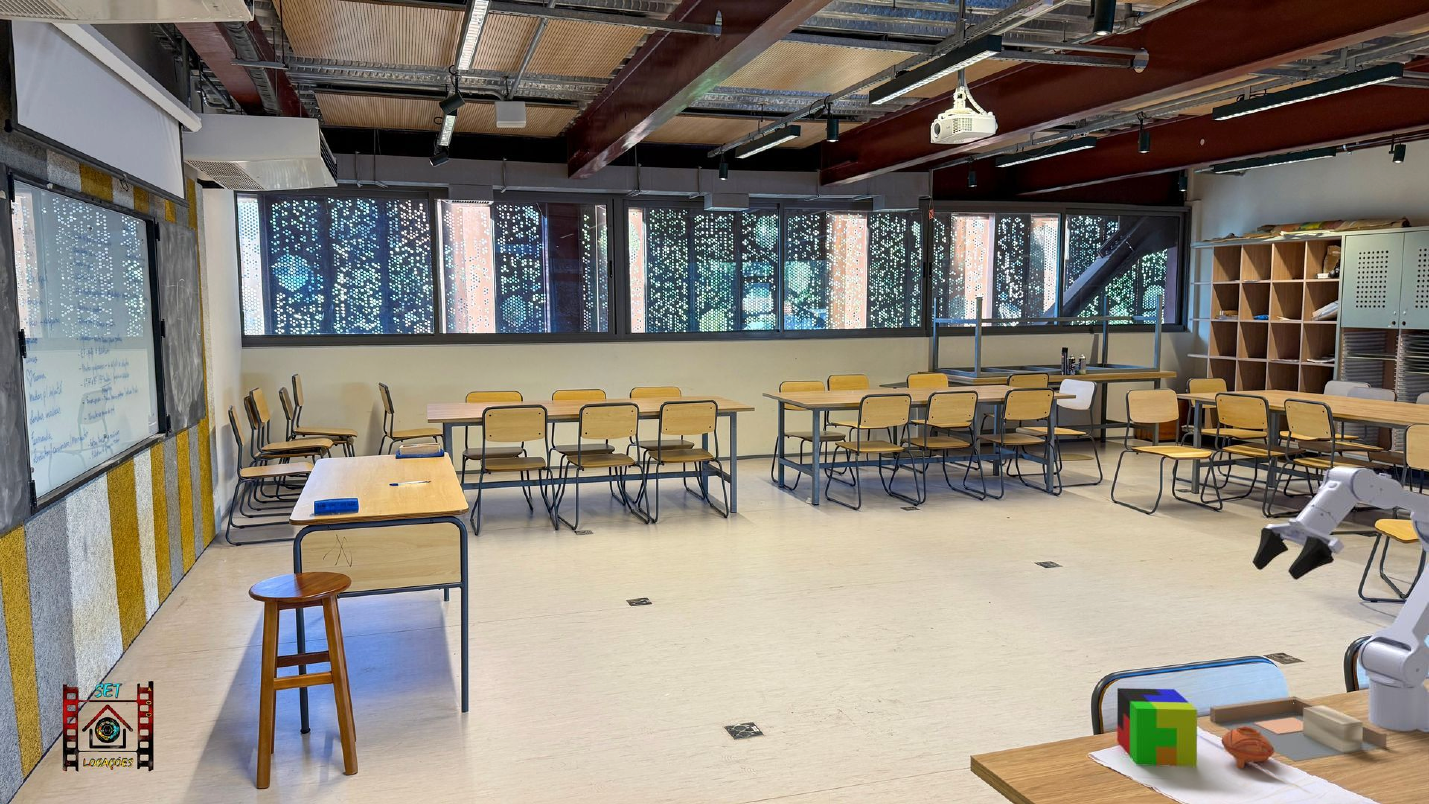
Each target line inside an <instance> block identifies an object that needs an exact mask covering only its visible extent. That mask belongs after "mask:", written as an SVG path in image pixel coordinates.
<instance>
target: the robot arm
mask: <svg viewBox="0 0 1429 804" xmlns="http://www.w3.org/2000/svg"><path fill="white" fill-rule="evenodd" d="M1322 480H1323V481H1322V484H1321V485H1320V486H1319V487H1318V491H1317V493H1316V495H1315V496H1314V497H1313V498H1312V499H1311V500H1310V501H1309V503H1308V504H1307V505H1306V506H1305V507H1304V508H1303V509H1302V511H1301V512H1300V513H1299V514H1298V515H1297V516H1296V518H1289V519H1288V521H1287V522H1286V523H1278V524H1277V523H1276V524H1272V523H1269V524H1267V526H1265V527H1262V529H1260V540H1259V545H1258V548H1257V551H1256V553H1255V556H1254V557H1253V559H1252V564H1253V565H1254V566H1255V568H1256V569H1257V570H1260V571H1261V570H1263V569H1265V567H1266V566H1268V565H1269V564H1270V563H1271V562H1272V561H1273V560H1274V559H1275V558H1276V557H1278V556H1280V555H1281V554H1283V553H1286V552H1288V551H1289V548H1288V546H1287V545H1286V543H1285V542H1284V541H1289V542H1293V543H1295V544H1297V545H1300V546H1302V547H1303V548H1302V549H1301V551H1300V553H1299V554H1298V556H1297V557H1296V559H1295V560H1294V561H1293V563H1292V564H1291V565H1290V567H1289V568H1288V570H1287V571H1288V573H1289V575H1290V576H1291V577H1292V578H1293V580H1295V581H1297V580H1299V579H1300V578H1302V577H1305V575H1307V574H1308V573H1309V572H1311V571H1314V570H1315V569H1318V568H1320V567H1322V566H1325V565H1330V564H1333V562H1334V560H1335V559H1334V557H1333V554H1336V555H1339V554H1340V552H1341V551H1343V549H1344V548H1345V545H1344V544H1343V542H1342V541H1341V539H1340V538H1337V537H1334V536H1332V535H1331V534H1332V533H1333V531H1334V530H1335V529H1336V528H1337V526H1338V525H1339V524H1340V523H1341V522H1343V521H1342V520H1344V519H1345V517H1346V516H1347V515H1348V514H1349V513H1350V512H1351V510H1352V509H1353V508H1354V507H1355V506H1356V505H1357V504H1358V502H1359V503H1363V504H1366V505H1370V506H1373V507H1377V508H1380V509H1383V510H1390V509H1394V508H1395V507H1399V508H1401V509H1404V510H1408V511H1410V516H1409V519H1410V520H1411V522H1412V527H1413V530H1414V532H1415V534H1416V536H1417V539H1418V541H1419V542H1420V544H1421V547H1422V548H1423V551H1425V552H1426V553H1428V554H1429V495H1426V494H1422V493H1418V492H1414V491H1411V490H1406V489H1404V488H1403V486H1402V485H1401V483H1400V482H1399V481H1398V480H1395V479H1393V478H1392V475H1391V474H1387V473H1381V472H1380V473H1379V474H1377V473H1376V472H1375V471H1374V470H1373V469H1369V468H1362V467H1361V468H1359V467H1351V466H1343V465H1342V466H1341V465H1338V466H1335V467H1333V468H1331V469H1328V468H1327V470H1326V471H1325V473H1324V475H1323V479H1322ZM1428 635H1429V562H1428V563H1427V565H1426V566H1425V569H1424V570H1423V572H1422V574H1421V575H1420V577H1419V578H1418V581H1417V582H1416V584H1415V586H1414V587H1413V588H1412V591H1411V592H1410V594H1409V596H1408V598H1407V599H1406V601H1405V602H1404V605H1403V606H1402V608H1401V610H1400V611H1399V613H1398V614H1397V616H1396V618H1395V620H1394V622H1393V623H1392V625H1391V626H1388V627H1384V628H1380V629H1378V630H1374V632H1373V634H1372V635H1371V636H1370V638H1368V639H1366V641H1364V643H1362V645H1361V646H1360V647H1359V650H1358V655H1357V656H1358V657H1357V659H1358V663H1359V665H1360V667H1361V668H1362V669H1363V670H1364V671H1365V672H1364V673H1365V674H1364V675H1365V676H1366V677H1368V722H1370V723H1371V724H1372V725H1374V726H1377V727H1379V728H1383V729H1385V730H1391V731H1397V732H1411V731H1415V730H1419V731H1420V732H1424V733H1429V689H1428V688H1427V687H1426V685H1425V684H1424V682H1425V680H1426V679H1427V678H1428V675H1429V646H1428V645H1427V643H1426V639H1427V637H1428Z"/></svg>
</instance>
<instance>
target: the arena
mask: <svg viewBox="0 0 1429 804" xmlns="http://www.w3.org/2000/svg"><path fill="white" fill-rule="evenodd" d="M1293 703H1294V704H1293ZM1314 706H1319V705H1317V704H1315V703H1312V702H1309V701H1307V700H1305V699H1302V698H1300V697H1297V696H1296V695H1295V696H1289V697H1288V696H1287V697H1281V698H1280V697H1279V698H1272V699H1266V700H1265V699H1264V700H1256V701H1249V702H1242V703H1240V702H1239V703H1232V704H1226V705H1219V706H1211V707H1209V709H1210V710H1209V712H1210V713H1209V720H1210V721H1211V723H1212V722H1213V723H1214V724H1217V725H1219V726H1221V727H1223V728H1225V729H1226V730H1227V729H1228V730H1229V731H1231V730H1234V729H1236V727H1242V726H1245V727H1251V728H1254V729H1256V730H1258V731H1260V732H1261V735H1262V736H1264V737H1265V738H1266V739H1267V740H1268V741H1269V742H1270V743H1271V745H1272V747H1273V748H1274V753H1277V754H1279V755H1280V756H1283V757H1285V758H1287V759H1288V760H1289V759H1290V760H1291V761H1294V762H1299V761H1306V760H1312V759H1313V760H1314V759H1319V758H1325V757H1333V756H1338V755H1339V756H1340V755H1346V754H1353V753H1359V752H1365V751H1374V750H1377V749H1378V750H1379V749H1385V748H1387V737H1388V736H1387V732H1384V731H1381V730H1380V729H1377V728H1374V727H1372V726H1370V725H1367V724H1364V723H1363V736H1362V749H1361V750H1355V751H1348V752H1341V751H1338V750H1336V749H1334V748H1332V747H1329V746H1327V745H1325V744H1323V743H1320V742H1318V741H1316V740H1314V739H1311V738H1309V737H1307V736H1305V735H1303V708H1307V707H1314Z"/></svg>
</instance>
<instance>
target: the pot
mask: <svg viewBox="0 0 1429 804" xmlns="http://www.w3.org/2000/svg"><path fill="white" fill-rule="evenodd" d="M1220 741H1221V744H1222V746H1223V748H1225V750H1226V751H1227V752H1228V754H1230V755H1231V756H1232V757H1233V758H1235V760H1236V765H1237V767H1238V769H1240V770H1243V768H1244V766H1245V763H1246V762H1248V763H1261V762H1264V763H1266V762H1268V761H1269V759H1270V757H1272V755H1273V754H1274V753H1275V752H1274V748H1273V747H1272V745H1271V743H1270V742H1269V741H1268V740H1267V739H1266V738H1265V737H1264V736H1262V735H1261V732H1260V731H1258V730H1256V729H1254V728H1251V727H1245V726H1242V727H1236V729H1234V730H1229V731H1227V732H1226V733H1225V734H1224V735H1222V737H1221V739H1220Z"/></svg>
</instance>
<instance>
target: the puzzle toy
mask: <svg viewBox="0 0 1429 804" xmlns="http://www.w3.org/2000/svg"><path fill="white" fill-rule="evenodd" d="M1116 690H1117V693H1116V694H1117V695H1116V696H1117V704H1116V705H1117V712H1116V713H1117V715H1116V717H1117V721H1116V724H1117V725H1116V726H1117V728H1116V730H1117V731H1116V732H1117V733H1116V734H1117V736H1116V737H1117V738H1116V740H1117V743H1118V744H1119V745H1120V747H1123V748H1124V749H1125V750H1124V749H1123V748H1122V749H1123V750H1124V752H1125V753H1126V752H1127V753H1128V754H1129V755H1130V756H1129V755H1128V754H1127V753H1126V754H1127V755H1128V756H1129V757H1130V758H1132V759H1133V760H1134V761H1135V762H1134V761H1133V760H1132V759H1131V760H1132V761H1133V762H1134V763H1136V764H1147V765H1146V766H1162V765H1169V767H1170V766H1171V767H1178V766H1179V767H1198V766H1197V765H1198V709H1197V708H1196V707H1195V706H1193V704H1192V703H1190V702H1189V701H1188V700H1187V699H1186V698H1184V696H1183V695H1181V694H1180V693H1179V692H1178V691H1177V690H1176V689H1174V688H1134V687H1133V688H1132V687H1131V688H1129V687H1126V688H1124V687H1122V688H1121V687H1118V688H1117V689H1116ZM1136 764H1135V765H1136ZM1148 764H1149V765H1148Z"/></svg>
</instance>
